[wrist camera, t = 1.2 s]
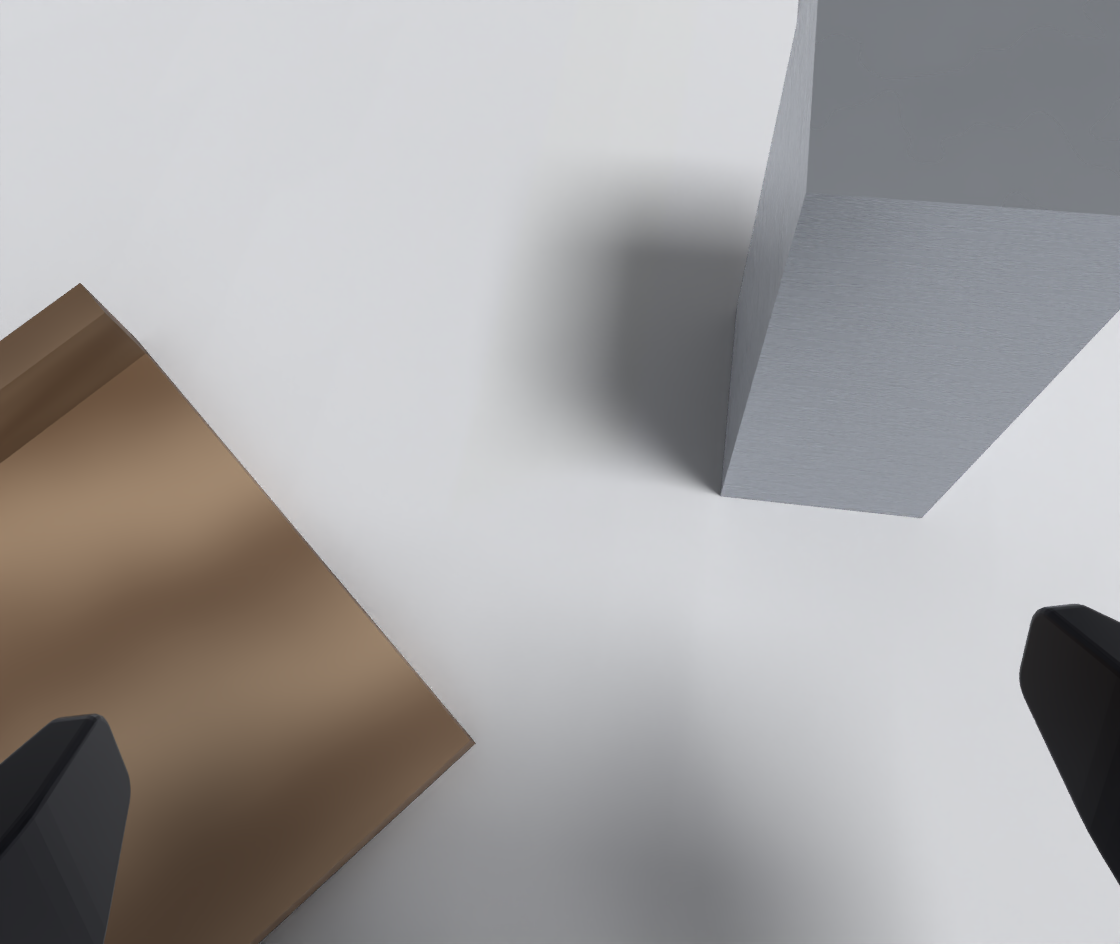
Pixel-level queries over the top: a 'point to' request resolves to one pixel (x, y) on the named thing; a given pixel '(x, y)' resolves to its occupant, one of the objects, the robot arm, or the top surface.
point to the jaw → (922, 243)
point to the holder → (190, 642)
